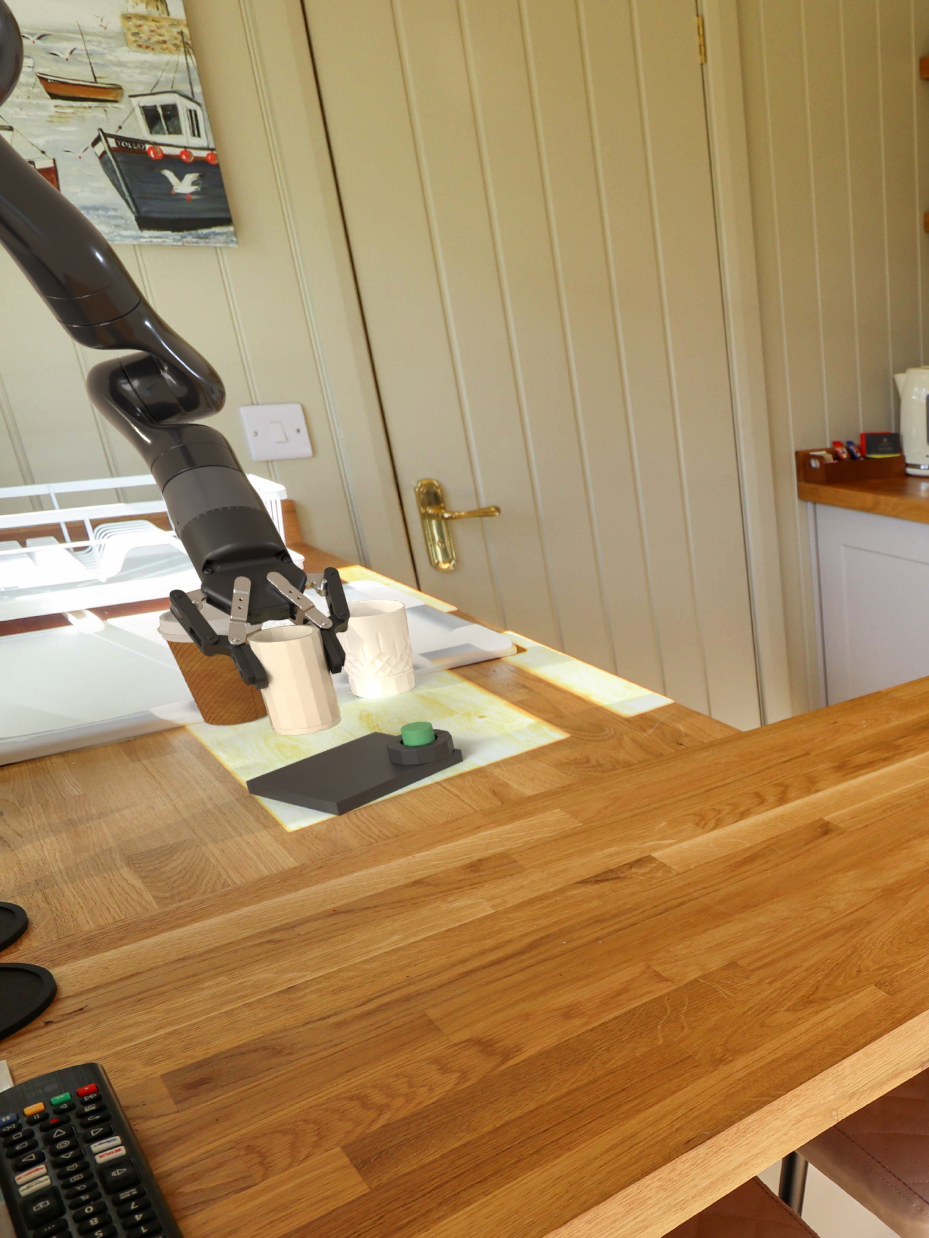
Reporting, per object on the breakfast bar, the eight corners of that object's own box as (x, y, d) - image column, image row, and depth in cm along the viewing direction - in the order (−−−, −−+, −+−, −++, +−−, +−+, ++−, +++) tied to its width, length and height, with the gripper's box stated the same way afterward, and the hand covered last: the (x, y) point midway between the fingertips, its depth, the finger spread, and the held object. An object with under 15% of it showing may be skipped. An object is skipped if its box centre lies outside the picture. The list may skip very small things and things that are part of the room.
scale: (342, 817, 99) (334, 787, 98) (249, 794, 103) (240, 765, 102) (469, 761, 112) (463, 733, 110) (381, 742, 116) (375, 716, 114)
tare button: (418, 749, 107) (414, 733, 107) (397, 745, 108) (393, 728, 108) (441, 739, 110) (438, 723, 109) (421, 735, 111) (417, 719, 110)
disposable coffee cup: (180, 713, 122) (147, 609, 118) (278, 695, 128) (251, 595, 123) (193, 738, 116) (160, 629, 111) (296, 717, 122) (269, 613, 117)
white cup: (401, 701, 127) (382, 618, 123) (333, 700, 127) (312, 617, 123) (433, 679, 134) (417, 600, 130) (369, 678, 134) (351, 599, 130)
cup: (300, 739, 100) (275, 645, 97) (258, 730, 102) (232, 637, 98) (355, 719, 105) (332, 629, 101) (314, 710, 107) (290, 622, 103)
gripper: (131, 514, 95) (209, 674, 93) (314, 494, 105) (388, 639, 103) (134, 563, 101) (208, 716, 98) (308, 540, 110) (379, 679, 108)
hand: (300, 676), depth 100 cm, fingers closed on cup, 5 cm apart
